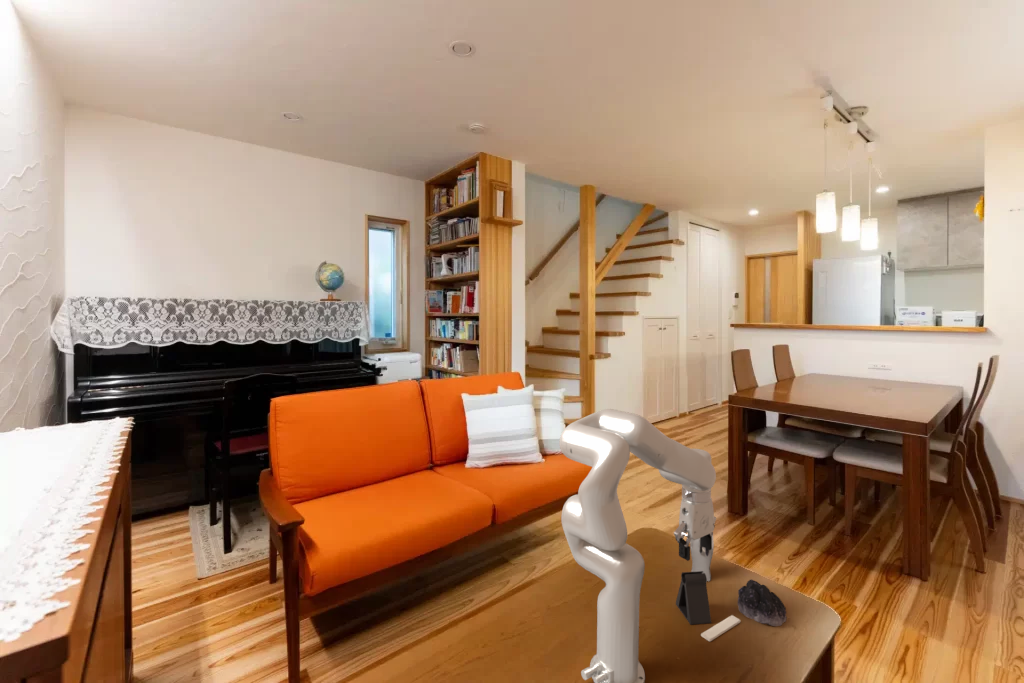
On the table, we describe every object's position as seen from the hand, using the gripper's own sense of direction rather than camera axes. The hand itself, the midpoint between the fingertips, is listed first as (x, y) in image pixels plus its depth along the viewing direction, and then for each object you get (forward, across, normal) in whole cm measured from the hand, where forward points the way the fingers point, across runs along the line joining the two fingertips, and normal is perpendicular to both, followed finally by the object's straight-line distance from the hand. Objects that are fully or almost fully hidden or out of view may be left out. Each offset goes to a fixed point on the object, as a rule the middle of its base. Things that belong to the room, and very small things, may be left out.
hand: (695, 552), depth 126 cm
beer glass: (+18, +17, +10) cm, 27 cm away
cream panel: (+18, 0, -8) cm, 19 cm away
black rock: (+18, +16, -10) cm, 26 cm away
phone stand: (+18, -1, 0) cm, 18 cm away
